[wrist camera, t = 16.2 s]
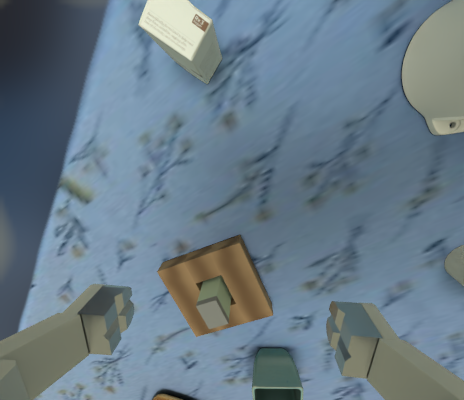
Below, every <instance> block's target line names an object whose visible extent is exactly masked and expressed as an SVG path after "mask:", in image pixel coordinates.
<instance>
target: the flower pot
mask: <svg viewBox="0 0 464 400" xmlns="http://www.w3.org/2000/svg"><path fill="white" fill-rule="evenodd" d="M252 394H253V400H303V387H302V384H301V381H300V377H299V374H298V371H297V368H296V365H295V363H294V361H293V359H292V357H291V356H290V354H289V353H288V352H287V351H286V350H285V349H283V348H262V349H260V350H259V352H258V353H257V355H256V358H255V362H254V370H253V383H252Z"/></svg>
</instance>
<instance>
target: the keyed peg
mask: <svg viewBox="0 0 464 400" xmlns="http://www.w3.org/2000/svg"><path fill="white" fill-rule="evenodd" d="M230 304H231V293H230V291H229V289H228V287H227V285H226V283H225V281H224V279H223V277H222V275H220V276H217V277H214V278H211V279H208V280H205V281H203V284H202V287H201V291H200V294H199V297H198V301H197V304H196V307H197V309H198V311H199V313H200V314H201V316H202V318H203V320H204V321H205V323H206V325H207V327H208V328H209V329H212V328H216V327H219V326H223V325H226V324H229V314H230Z"/></svg>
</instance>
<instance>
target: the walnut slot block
mask: <svg viewBox="0 0 464 400" xmlns="http://www.w3.org/2000/svg"><path fill="white" fill-rule="evenodd" d="M157 272H158V274H159V276H160V277H161V279H162V281H163V282H164V284H165V286H166V287H167V289H168V291H169V292H170V294H171V296H172V297H173V299H174V301H175V302H176V304H177V306H178V307H179V309H180V311H181V312H182V314H183V316H184V317H185V319H186V321H187V322H188V324H189V326H190V327H191V329H192V331H193V332H194V334H195V336H196V337H197V336H201V335H204V334H208V333H211V332H215V331H219V330H222V329H226V328H229V327H233V326H236V325H240V324H244V323H247V322H251V321H254V320H258V319H262V318H265V317H269V316H272V315H273V310H272V303H271V301H270V298H269V296H268V294H267V292H266V290H265V288H264V285H263V283H262V281H261V279H260V277H259V275H258V272H257V270H256V268H255V266H254V264H253V262H252V259H251V257H250V255H249V253H248V251H247V248H246V246H245V244H244V242H243V240H242V238H241V235H238V236H235V237H232V238H229V239H227V240H224V241H221V242H218V243H215V244H213V245H210V246H207V247H204V248H202V249H199V250H196V251H193V252H190V253H188V254H185V255H182V256H179V257H176V258H174V259H171V260H168V261H165V262H163V263H162V265H161V267H160V268H159V270H158V271H157ZM220 275H222V277H223V279H224V281H225V283H226V285H227V287H228V289H229V291H230V293H231V304H230V314H229V324H226V325H223V326H219V327H216V328H212V329H209V328H208V327H207V325H206V323H205V321H204V320H203V318H202V316H201V314H200V313H199V311H198V309H197V307H196V304H197V301H198V297H199V294H200V291H201V287H202V284H203V281H205V280H208V279H211V278H214V277H217V276H220Z"/></svg>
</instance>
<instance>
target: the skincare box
mask: <svg viewBox="0 0 464 400" xmlns="http://www.w3.org/2000/svg"><path fill="white" fill-rule="evenodd" d="M139 26H140V27H141V28H143V29H144V30H145V31H146V32H147V34H148V35H149V36H150V37H151V38H152V39H153V40H154V41H155V42H156V43H157V44H158V45H159V46H160V47H161V48H162V49H163V50H164V51H165V52H166V53H167V54H168V55H169V56H170V57H171V58H172V59H173V60H174V61H175V62H176V63H178V64H179V65H180V66H181V67H183V68H184V69H185V70H187V71H188V72H189V73H191V74H192V75H194V76H195V77H196V78H198V79H199V80H201V81H202V82H204V83H206V84H208V83H209V81H210V79H211V77H212V76H213V74H214V72H215V70H216V69H217V67H218V65H219V63H220V62H221V60H222V56H221V52H220V48H219V45H218V41H217V37H216V33H215V29H214V26H213V21H212V19H210V18H209V17H208V16H206V15H205V14H204V13H202V12H201V11H200V10H198V9H197V8H196V7H195V6H193V5H192V4H191V3H190V2H189V1H188V0H148V1H147V4H146V6H145V8H144V11H143V13H142V16H141V19H140V21H139Z"/></svg>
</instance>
